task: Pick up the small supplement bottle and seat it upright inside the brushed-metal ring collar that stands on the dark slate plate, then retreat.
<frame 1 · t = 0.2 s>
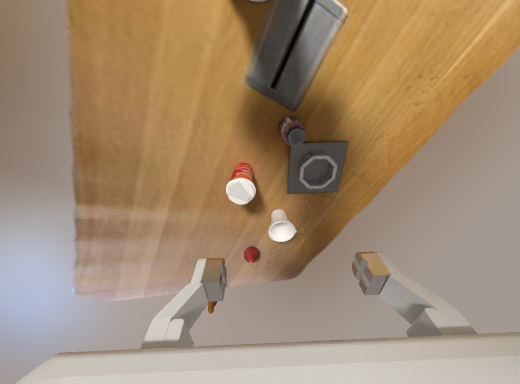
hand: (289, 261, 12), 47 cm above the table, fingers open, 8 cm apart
onion: (251, 247, 78), on the table
ring collar: (314, 168, 60), on the table
paper cup: (243, 170, 60), on the table
cup: (279, 213, 69), on the table
supplement bottle: (289, 127, 53), on the table
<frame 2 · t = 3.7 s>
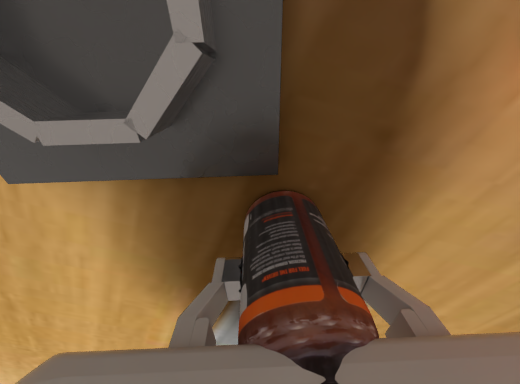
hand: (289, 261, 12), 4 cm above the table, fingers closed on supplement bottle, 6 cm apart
supplement bottle: (280, 217, 15), on the table, touching gripper
when the fingers open (7 cm above the table, at t = 8.5 s): supplement bottle stays where it is, resting on ring collar.
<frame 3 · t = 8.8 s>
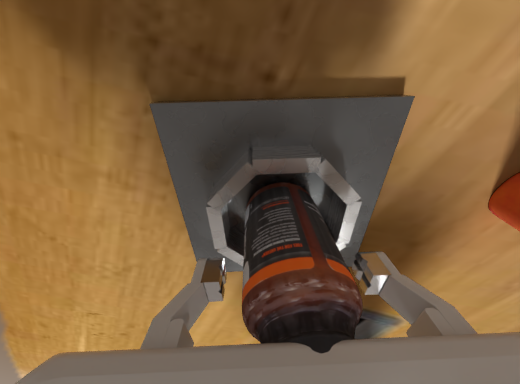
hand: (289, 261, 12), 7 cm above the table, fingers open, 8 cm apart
ring collar: (278, 201, 17), on the table
paper cup: (519, 191, 18), on the table
supplement bottle: (279, 207, 17), point 1 cm above the table, touching ring collar
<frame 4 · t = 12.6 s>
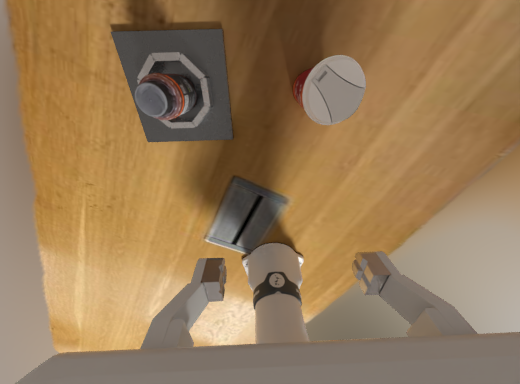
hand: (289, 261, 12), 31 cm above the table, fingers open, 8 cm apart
ring collar: (182, 92, 34), on the table
paper cup: (307, 88, 34), on the table
supplement bottle: (180, 93, 33), point 1 cm above the table, touching ring collar
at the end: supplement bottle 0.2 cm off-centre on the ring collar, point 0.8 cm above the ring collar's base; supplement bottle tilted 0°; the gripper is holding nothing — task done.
